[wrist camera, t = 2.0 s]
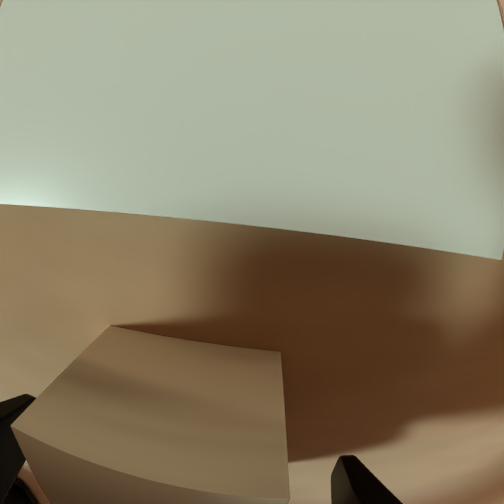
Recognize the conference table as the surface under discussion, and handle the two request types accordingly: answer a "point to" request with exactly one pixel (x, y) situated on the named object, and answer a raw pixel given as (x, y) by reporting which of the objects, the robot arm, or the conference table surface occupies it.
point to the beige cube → (160, 424)
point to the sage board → (262, 114)
